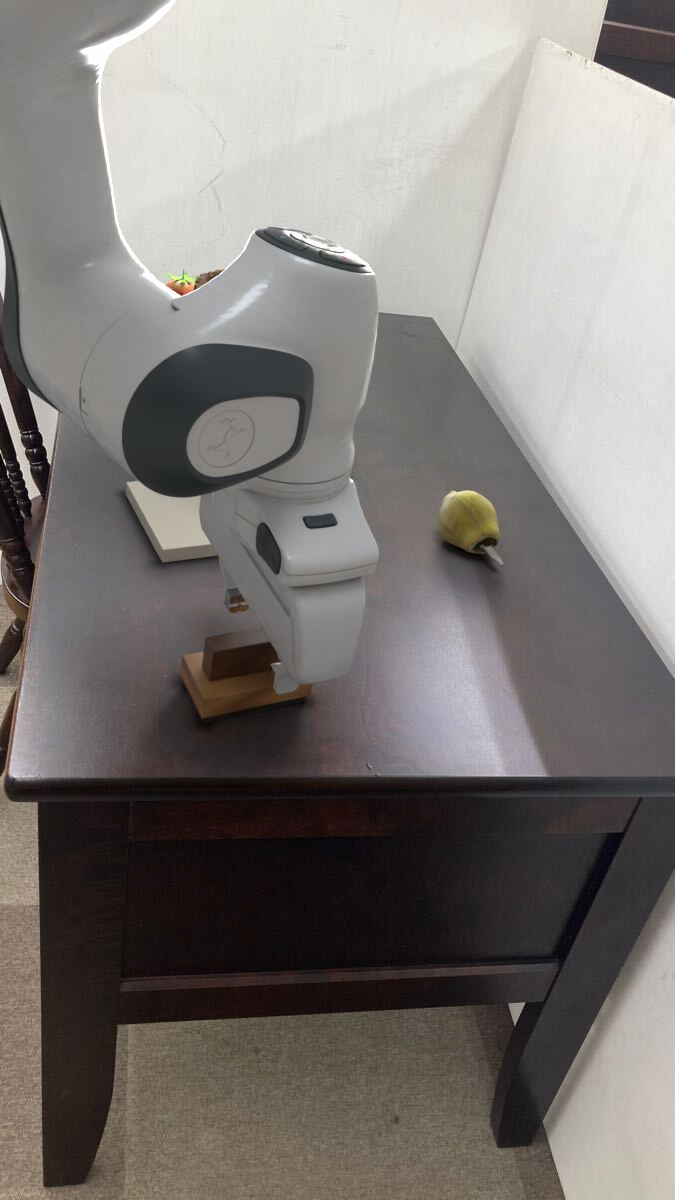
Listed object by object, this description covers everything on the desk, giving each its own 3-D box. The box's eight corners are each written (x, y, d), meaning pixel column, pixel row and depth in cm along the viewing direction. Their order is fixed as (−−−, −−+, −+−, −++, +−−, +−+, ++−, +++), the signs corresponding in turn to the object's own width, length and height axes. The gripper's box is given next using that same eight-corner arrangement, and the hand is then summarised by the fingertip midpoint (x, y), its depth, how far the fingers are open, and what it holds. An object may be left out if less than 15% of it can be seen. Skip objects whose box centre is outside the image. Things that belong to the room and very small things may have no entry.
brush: (200, 726, 67) (207, 668, 63) (179, 682, 70) (184, 625, 66) (308, 703, 71) (321, 647, 67) (283, 662, 74) (294, 607, 71)
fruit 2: (477, 581, 89) (414, 519, 93) (508, 579, 93) (446, 519, 98) (510, 536, 86) (443, 474, 91) (540, 535, 91) (475, 477, 95)
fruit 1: (174, 315, 130) (177, 259, 125) (204, 325, 129) (210, 270, 124) (153, 324, 126) (157, 267, 121) (185, 335, 125) (190, 278, 120)
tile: (162, 563, 82) (163, 548, 81) (125, 494, 90) (126, 481, 89) (352, 539, 91) (355, 525, 90) (303, 478, 99) (306, 466, 98)
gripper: (184, 417, 65) (174, 570, 73) (299, 583, 51) (270, 749, 59) (265, 412, 68) (246, 560, 76) (393, 568, 54) (353, 728, 62)
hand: (257, 644), depth 67 cm, fingers open, 8 cm apart
